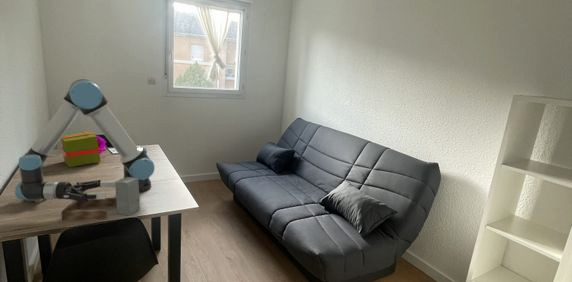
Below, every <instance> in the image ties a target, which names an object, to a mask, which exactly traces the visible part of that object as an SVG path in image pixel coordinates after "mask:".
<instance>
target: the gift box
mask: <svg viewBox="0 0 572 282" xmlns="http://www.w3.org/2000/svg"><path fill="white" fill-rule="evenodd" d="M59 141H60V145H61V152H62V155H63V160H64V162H65V164H66V166H68V168H74V167H79V166H83V165H88V164H89V165H90V164H96V163H101V157H100V156H101V155H102V154H103V153H104V152H105V151H106V150H105V149H107V148H108V146H107V145H106V143H107V140H105V139H104V138H102V137H101V136H99V135H98V134H95V133H94V132H92V131H91V130H90V131H84V132H80V133H71V134H66V135H65V134H64V135H63V136H62V137H61V139H60V140H59Z"/></svg>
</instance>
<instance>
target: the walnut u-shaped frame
mask: <svg viewBox="0 0 572 282" xmlns="http://www.w3.org/2000/svg"><path fill="white" fill-rule="evenodd" d="M110 207H113V208H114V207H115V208H117V200H116V197H106V199H88V202H85V201H84V202H80V201H75V200H72V202H70V203H69V204H68V205H67V206H66V207H64V209H63V210H62V211H61V221H86V220H87V221H88V220H90V221H91V220H93V221H94V220H95V221H97V220H107V219H108V209H106V208H110ZM79 208H104V209H79Z"/></svg>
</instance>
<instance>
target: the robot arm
mask: <svg viewBox="0 0 572 282" xmlns="http://www.w3.org/2000/svg"><path fill="white" fill-rule="evenodd" d="M62 100H63V103H62V104H61V105H60V107H59V108H58V110H57V111H56V112H55V114H54V115H53V116H52V118H51V119H50V121H49V122H48V124H47V125H46V126H45V127H44V129H43V130H42V131H41V133H40V135H38V137H37V139H36V140H35V141H34V143H33V144H32V146H31V147H30V148H29V149H28V151H27V152H26V153H25V154H24V155H22V156H20V157H19V158H18V167H19V173H20V178H21V179H20V182H18V183H17V184H16V186H15V191H14V195H15V197H16V198H17V199H18V200H22V199H25V200H26V199H27V200H26V201H28V200H34V199H39V200H43V199H46V200H51V201H54V200H71V201H74V200H75V201H80V202H84V201H85V202H88V199H106V198H107V197H106V192H88V193H86V191H88V190H91V189H97V188H100V189H101V188H103V189H104V188H105V189H107V188H112V189H113V188H115V182H116V181H102V179H96V180H90V181H83V182H80V181H79V182H76V184H73V185H72V184H71V182H69V181H60V182H59V181H45V180H44V173H43V172H44V171H43V164H44V162H45V161H46V160H47V158H48V157H49V155H50V154H51V152H52V151H53V150H54V148H55V147H56V145H57V144H58V143H59V142H60V141H61V140H60V139H61V137H62V136H64V135H65V133H66V132H67V130H68V128H70V126H71V125H72V123H73V122H74V121H75V119H77V117H78V115H79V113H80V112H81V113H82V114H83V115H84V116H87V117H90V119H91V120H92V122H93V123H94V124H95V125H96V126H97V128H98V129H99V130H100V132H101V133H102V134H103V136H104V137H105V138H106V140H108V142H109V143H110V145H111V146H112V147H113V148H114V150H115V151H116V152H117V154H119V156H120V162H121V164H122V165H123V177H122V179H123V178H126V177H132V178H138V185H139V193H142V192H146V191H148V190H150V189H151V188H152V182H151V179H150V177H151V176H152V175H153V174H154V172H155V164H154V162H153V160H152V159H150V157H149V156H148V154H147V153H148V151H147V148H146V147H145V146H137V144H136V143H135V141H133V139H132V138H131V137H130V135H129V134H128V132H127V131H126V129H124V127H123V125H122V124H121V122H120V121H119V120H118V119H117V117H116V116H115V115H114V113H113V112H112V110H111V109H110V108H109V100H108V99H107V98H106V96H105V95H104V93H103V92H102V90H101V88H100V87H99V85H98V84H96V83H95V82H94V81H91V80H89V79H85V78H84V79H83V78H82V79H80V78H79V79H77V80H75V81H73V82H72V83H71V84H70V86H69V88H68V91H67V93H66V94H65V96H63V99H62Z"/></svg>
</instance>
